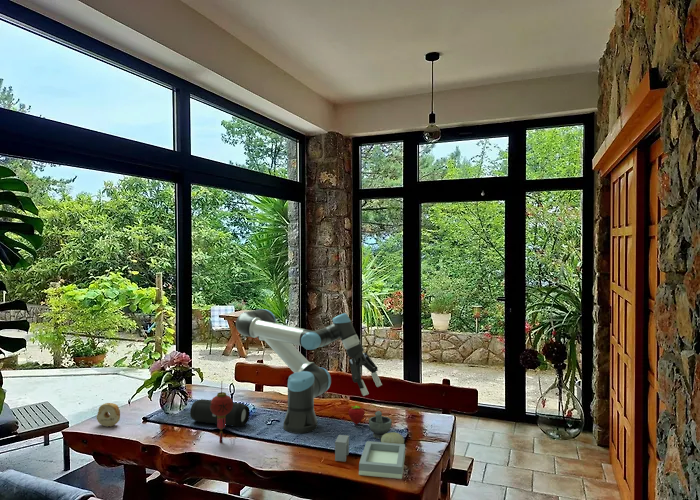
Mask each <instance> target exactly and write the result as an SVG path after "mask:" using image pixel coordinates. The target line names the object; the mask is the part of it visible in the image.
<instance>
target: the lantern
mask: <svg viewBox="0 0 700 500" xmlns="http://www.w3.org/2000/svg"><path fill="white" fill-rule="evenodd" d="M220 389H221V390H220V391H221V392H217V395H216V396H213V397H212V399H210V400H211V402H210V411H211V412H212V413H213V414H214V415H217V424H216V427H217V429H219V444H222V443H223V440H224V439H223V436H224V435H223V434H224V432H223V430H224V429H225V428H226V425H225V417H226V415H227V414H228V413H230V411H231V410H232V408H233V403H234V402H233V398H231V396H230V395H227V393H226V392H225V391H223V382H221V388H220Z"/></svg>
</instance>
